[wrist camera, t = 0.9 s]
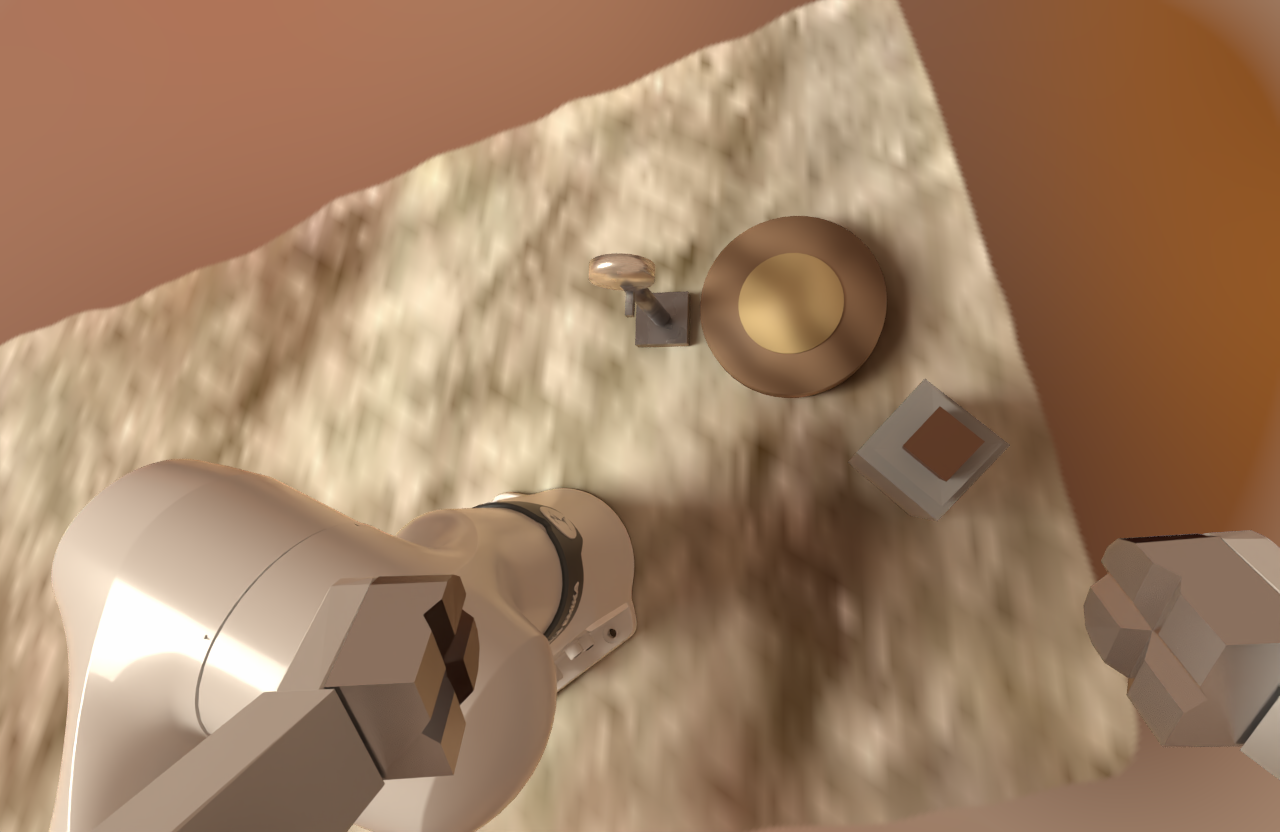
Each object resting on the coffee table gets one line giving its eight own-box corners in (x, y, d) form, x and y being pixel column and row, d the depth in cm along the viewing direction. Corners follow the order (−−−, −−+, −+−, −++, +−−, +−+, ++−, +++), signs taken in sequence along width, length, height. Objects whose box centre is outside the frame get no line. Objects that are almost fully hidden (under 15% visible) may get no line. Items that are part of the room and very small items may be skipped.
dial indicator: (689, 348, 63) (644, 296, 47) (638, 349, 65) (578, 299, 48) (690, 295, 64) (646, 225, 48) (640, 297, 65) (581, 231, 49)
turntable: (801, 434, 59) (801, 431, 57) (670, 325, 63) (663, 318, 61) (924, 294, 58) (929, 285, 55) (781, 193, 62) (779, 180, 60)
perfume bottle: (847, 462, 59) (860, 447, 41) (901, 405, 58) (936, 366, 41) (910, 515, 57) (950, 523, 39) (965, 457, 56) (1031, 439, 39)
